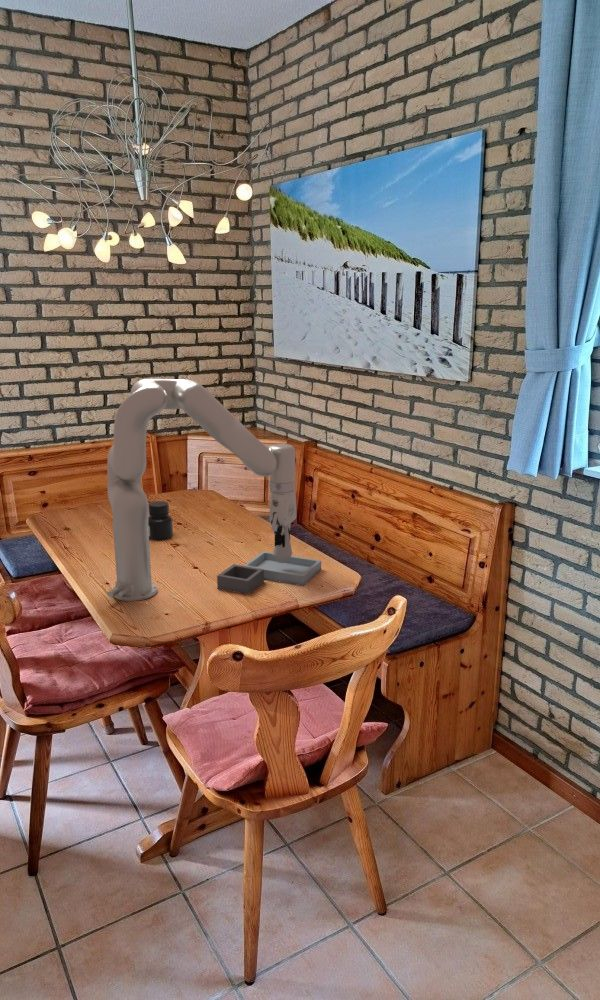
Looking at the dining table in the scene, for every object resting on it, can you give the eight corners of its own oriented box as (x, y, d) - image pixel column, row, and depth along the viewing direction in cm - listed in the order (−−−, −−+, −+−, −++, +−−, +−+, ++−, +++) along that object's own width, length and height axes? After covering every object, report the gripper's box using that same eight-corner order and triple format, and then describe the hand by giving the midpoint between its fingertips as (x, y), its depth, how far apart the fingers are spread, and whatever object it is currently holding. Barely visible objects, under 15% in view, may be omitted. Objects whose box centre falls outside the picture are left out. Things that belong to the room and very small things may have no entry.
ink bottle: (155, 531, 254) (153, 499, 251) (177, 533, 252) (176, 501, 248) (142, 539, 245) (140, 506, 242) (165, 542, 243) (163, 508, 239)
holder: (248, 594, 201) (248, 581, 200) (217, 588, 205) (217, 575, 204) (263, 581, 210) (263, 569, 209) (233, 576, 213) (233, 564, 212)
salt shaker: (285, 565, 212) (285, 524, 208) (269, 561, 215) (269, 520, 211) (295, 559, 217) (295, 519, 213) (279, 555, 220) (279, 515, 216)
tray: (303, 585, 207) (303, 576, 206) (242, 575, 215) (242, 566, 214) (321, 569, 219) (321, 560, 219) (263, 560, 227) (263, 551, 226)
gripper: (282, 494, 201) (282, 555, 206) (304, 481, 215) (304, 538, 220) (258, 491, 204) (259, 551, 209) (282, 478, 218) (282, 535, 223)
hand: (282, 544), depth 214 cm, fingers closed on salt shaker, 3 cm apart
